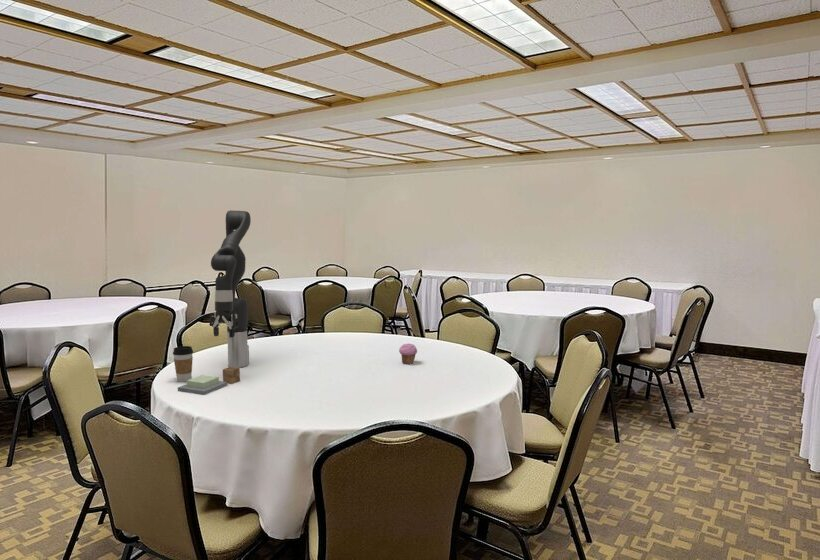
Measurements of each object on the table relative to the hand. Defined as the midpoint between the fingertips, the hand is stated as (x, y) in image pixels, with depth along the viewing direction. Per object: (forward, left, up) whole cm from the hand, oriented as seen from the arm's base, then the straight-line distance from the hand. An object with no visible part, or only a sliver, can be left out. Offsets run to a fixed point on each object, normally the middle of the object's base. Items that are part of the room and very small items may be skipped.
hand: (223, 336), depth 245 cm
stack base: (+14, 0, -19) cm, 24 cm away
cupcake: (-57, +65, -20) cm, 89 cm away
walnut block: (+2, +5, -19) cm, 20 cm away
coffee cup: (+8, -16, -20) cm, 26 cm away
